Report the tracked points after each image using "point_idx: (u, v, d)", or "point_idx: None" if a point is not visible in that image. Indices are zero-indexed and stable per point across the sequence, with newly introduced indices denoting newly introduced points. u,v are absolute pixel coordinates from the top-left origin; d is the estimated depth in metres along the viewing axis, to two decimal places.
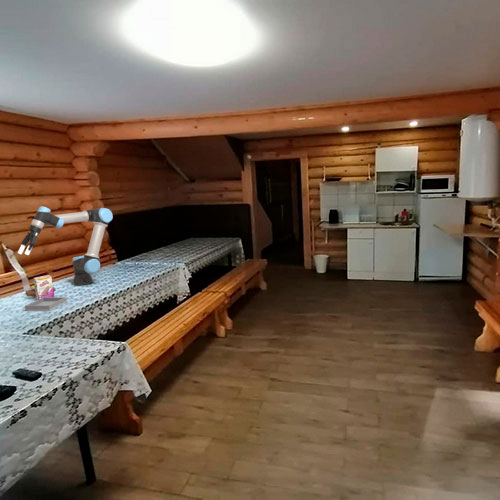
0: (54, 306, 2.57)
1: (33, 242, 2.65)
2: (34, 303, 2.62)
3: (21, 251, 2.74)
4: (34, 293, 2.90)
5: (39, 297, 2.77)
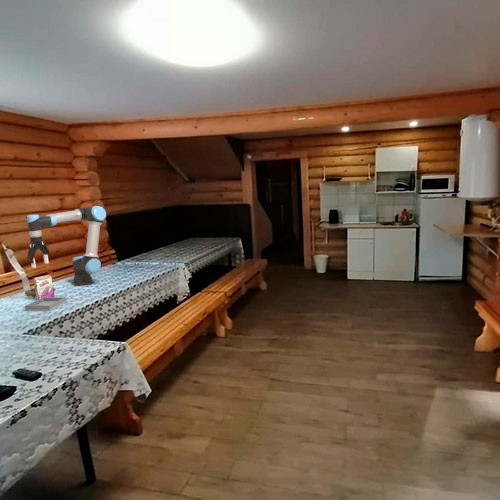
0: (54, 306, 2.57)
1: (28, 255, 2.67)
2: (34, 303, 2.62)
3: (46, 260, 2.84)
4: (34, 293, 2.90)
5: (39, 297, 2.77)
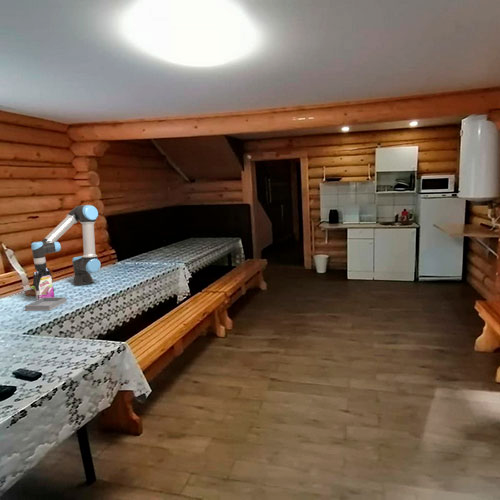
0: (54, 306, 2.57)
1: (34, 283, 2.71)
2: (34, 303, 2.62)
3: None
4: (32, 293, 2.90)
5: (39, 297, 2.77)
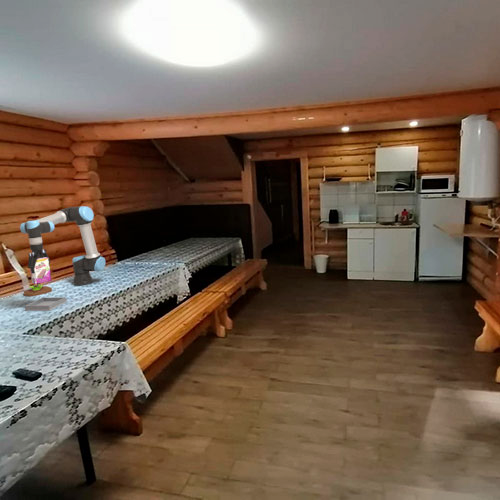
0: (54, 306, 2.57)
1: (29, 265, 2.49)
2: (34, 303, 2.62)
3: None
4: (29, 293, 2.90)
5: (35, 280, 2.55)
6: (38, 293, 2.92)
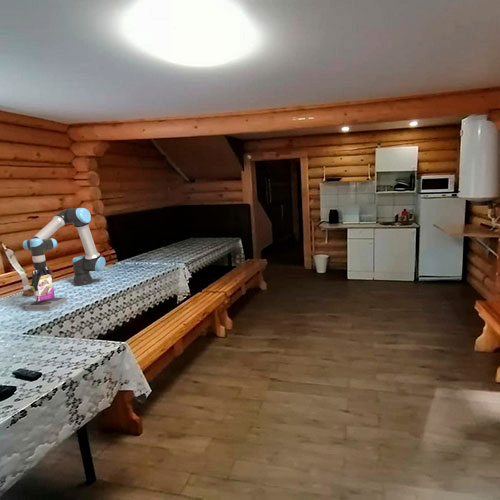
0: (54, 306, 2.57)
1: (32, 283, 2.50)
2: (34, 303, 2.62)
3: None
4: (28, 293, 2.90)
5: (38, 298, 2.56)
6: None
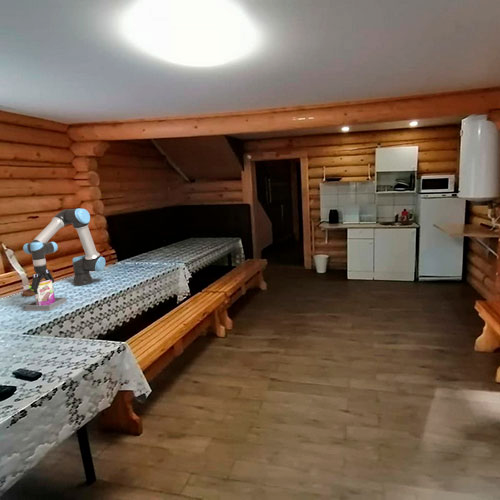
0: (54, 306, 2.57)
1: (32, 286, 2.50)
2: (34, 303, 2.62)
3: None
4: (26, 293, 2.91)
5: (39, 304, 2.57)
6: (34, 293, 2.92)
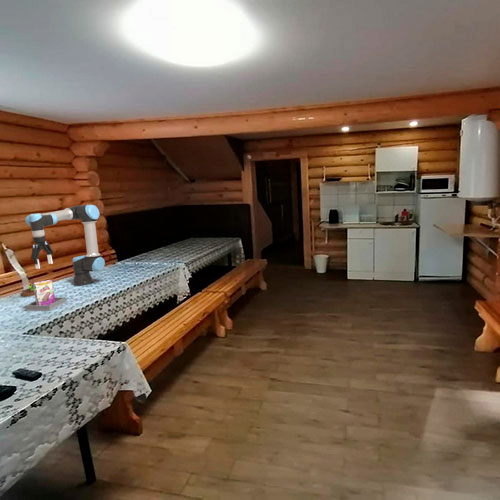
0: (54, 306, 2.57)
1: (32, 256, 2.57)
2: (34, 303, 2.62)
3: (50, 261, 2.74)
4: (24, 293, 2.91)
5: (39, 304, 2.57)
6: (32, 294, 2.92)
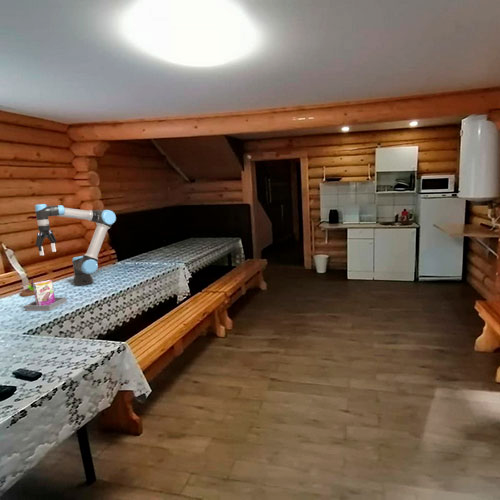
0: (54, 306, 2.57)
1: (37, 243, 2.75)
2: (34, 303, 2.62)
3: (53, 249, 2.92)
4: (23, 293, 2.91)
5: (39, 304, 2.57)
6: (31, 294, 2.92)
